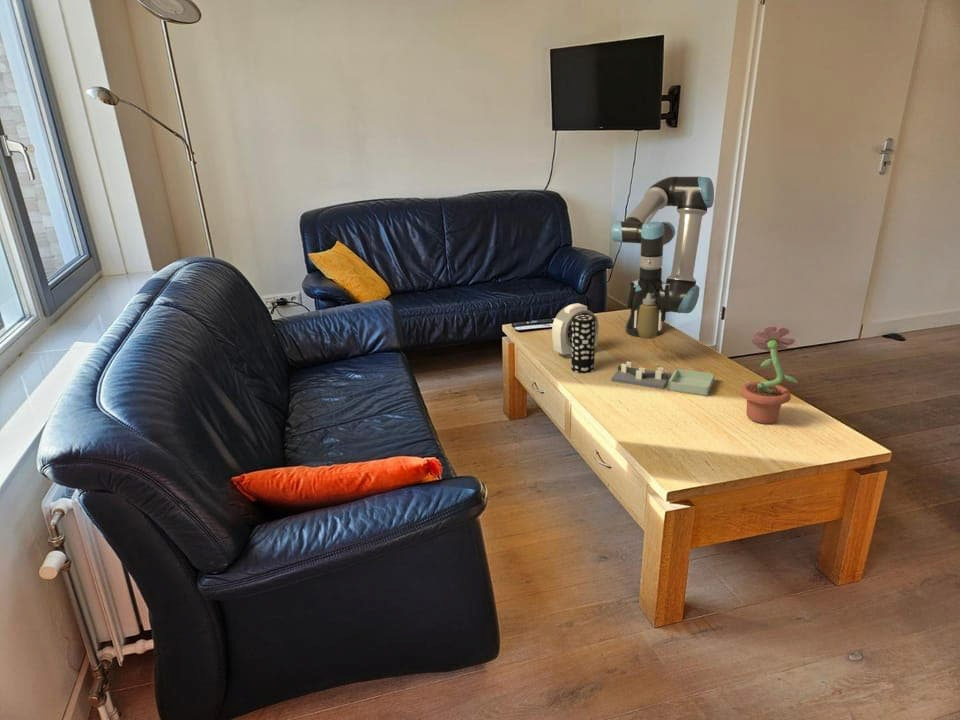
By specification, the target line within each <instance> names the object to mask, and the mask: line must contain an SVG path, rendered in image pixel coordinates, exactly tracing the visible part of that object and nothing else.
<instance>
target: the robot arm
mask: <svg viewBox="0 0 960 720" xmlns="http://www.w3.org/2000/svg"><path fill="white" fill-rule="evenodd" d="M714 189H715V188H714V182H713V180H712V178H710V177H707V176H669V177H665V178H662V179H661V180H659V181H657V182H655V183H654V184H653V185H651V186H650V187H649V188H648V189H647V190H646V191H645V193H644V195H643V199H641V201H640V202H639V203H638V204H637V206H636V207H635V208H634V209H633V210H632V211H631V212H630V214H629V215H628V216H627V217H626V218H625V219H624V221H622V220H620V221H618V220H617V221H614V222H613V223H612V225H611V229H610V237H611V240H612V241H613V242H617V243H626V244H627V243H628V244H640V257H639V258H640V259H639V261H640V262H639V266H640V267H639V278H638V279H635V280H632V281H631V282H630V283H629V285H630V290H629V291H630V292H629V296H628V301H627V304H626V308H627V309H630V314H629V317H628V320H627V322H626V324H625V332H626V333H627V334H628V335H630V336H632V337H638V338H639V337H640V336H639V333H638V330H637V322H638V315H639V308H640V305H641V304H643V298H646V295H647V293H652V295H653V298H655V299H656V304H657V305H658V312H659V323H658V332H657V335H656V336H660V335H661V334H662V333H663V322H665V321H666V316H667V315H666V314H667V313H670V312H671V313H677V314H690V313H692V312H693V311H694V309H695V308H696V305H697V303H698V300H699V297H700V296H699V295H700V290H701V289H700V286H699V285H697V280H696V279H695V278H694V272H695V265H696V259H697V253H698V245H699V242H700V241H699V239H700V233H701V226H702V220H703V216H705V215H706V214H707V213H708V209H710V208H712V207H713V204H714V199H715V190H714ZM665 207H676V212H677V213H678V214H679V219H678V226H677V231H676V229H675V226H674V225H673V224H672V223H671V222H670V221H651V220H652V219H653V218H654V216H655V215H656V214H657V213H658V211H660V210H663V209H664V208H665ZM675 235H676V239H675V247H674V253H673V260H672V266H671V272H670V273H671V274H670V275H669V276H667V277H666V281H665V282H663V280H662V274H663V268H662V266H663V255H664V254H663V253H664V245H667V244H668V243H671V241H673V239H674V237H675ZM640 338H641V337H640Z"/></svg>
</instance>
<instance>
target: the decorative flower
mask: <svg viewBox="0 0 960 720" xmlns="http://www.w3.org/2000/svg"><path fill="white" fill-rule="evenodd" d="M763 330H764V331H763ZM763 330H761V329H758V330H756V331H755V332H754V334H753V338H751V342H752V344H753V345H755V346H756V347H757V348H758V349H760V350H763V351H768V352H770V357H771V358H767V359H765V360H764V361H762V363H761V364H759V365H760V366H759V367H767V366H769V365H770V364H771V363H773V367H774V370H775V373H776V378H774V379H772V380H766V381H750V382H746V383H745V384H743V385H742V386H741V387H740V390H739V391H740V392H739V394H740V396H741V398H743V399H745V400H746V416H747V418H748V419H749V420H750V421H752V422H755V423H759V424H765V425H766V424H773V423H775V422H777V421H778V419H779V415H780V411H781V407H782V405H785V404H786V403H789V402H790V401H791V397H792V395H791V393H790V391H789V389H788V388H786V387H784V386H783V385H780V384H781V383H782V382H783V380H784V378H785V379H786V380H787V381H789V382H792V383H797V384H798V383H799V382H798V381H797V380H796V379H795V378H794V377H793V376H790V375H787V374H784V371H783V368H782V366H781V362H780V359H779V353H778V351H781V350H786V349H789V346H791V345H793V344H794V343H795V342H796V339H795V338H789V337H788V336H786V335H788V334H790V330H789V329H788V328H785V327H782V326H781V327H779V328H778V327H777V326H774V325H769V326H765V327H764V329H763Z"/></svg>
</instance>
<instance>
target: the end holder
mask: <svg viewBox="0 0 960 720" xmlns="http://www.w3.org/2000/svg"><path fill="white" fill-rule="evenodd" d="M714 383H715V373H712V372H711V373H710V372H705V371H704V372H703V371H695V370H689V369H682V368H675V369H674V371H673V373H672V374H671V377H670V379H669V380H668V382H667V389H666V390H667V391H670V392H676V393H682V394H691V395H697V396H704V397H708V396H709V394H710V392H711V390H712V387H713V385H714Z"/></svg>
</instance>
